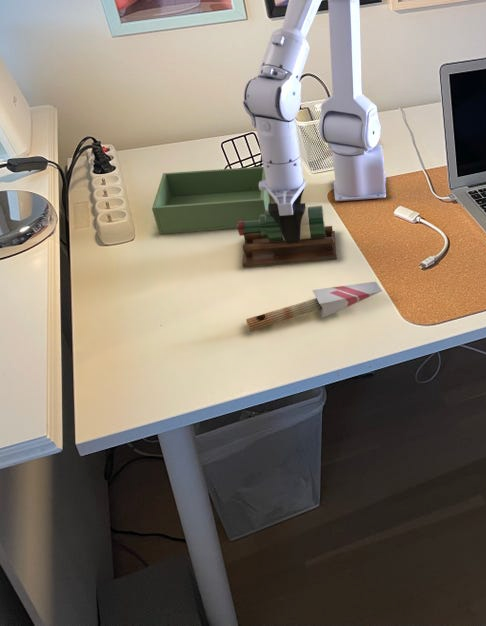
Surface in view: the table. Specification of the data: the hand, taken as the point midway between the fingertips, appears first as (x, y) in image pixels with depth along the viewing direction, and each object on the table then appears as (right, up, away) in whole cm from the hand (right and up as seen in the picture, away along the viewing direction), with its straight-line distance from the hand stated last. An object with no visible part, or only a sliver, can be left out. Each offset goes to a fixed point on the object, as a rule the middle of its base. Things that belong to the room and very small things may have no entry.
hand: (292, 232), depth 119 cm
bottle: (-2, -1, 0) cm, 2 cm away
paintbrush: (+6, -13, -11) cm, 19 cm away
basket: (-17, +5, +12) cm, 21 cm away
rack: (-1, -3, +2) cm, 3 cm away
